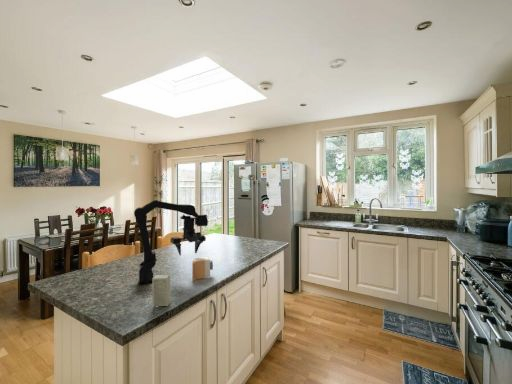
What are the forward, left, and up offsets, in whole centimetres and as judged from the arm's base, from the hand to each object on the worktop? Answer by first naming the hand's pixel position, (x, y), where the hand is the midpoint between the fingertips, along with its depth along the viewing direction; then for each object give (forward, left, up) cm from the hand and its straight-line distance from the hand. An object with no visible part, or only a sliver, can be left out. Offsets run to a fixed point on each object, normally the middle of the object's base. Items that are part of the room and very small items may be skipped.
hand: (188, 254), depth 139 cm
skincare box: (-19, -30, -12) cm, 37 cm away
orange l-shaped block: (+3, -10, -12) cm, 16 cm away
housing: (+6, -6, -12) cm, 15 cm away
